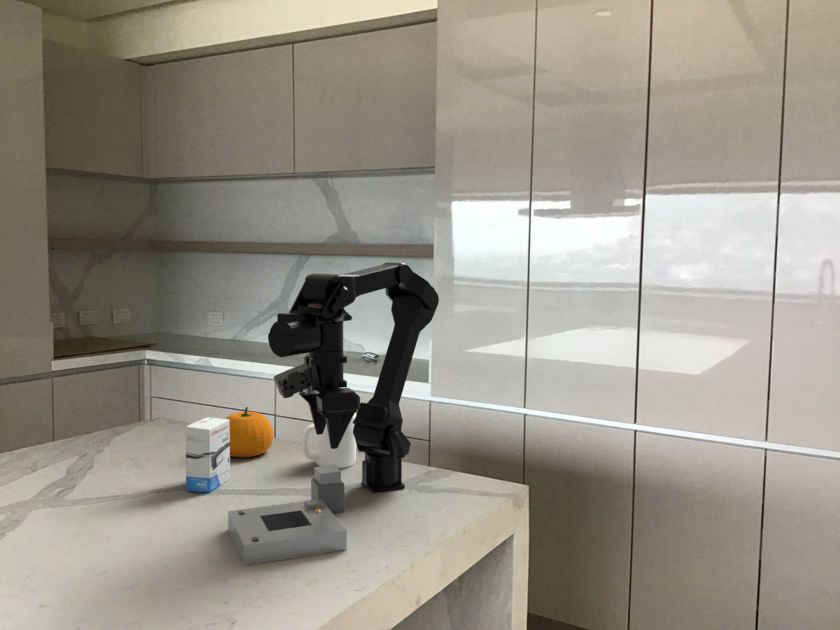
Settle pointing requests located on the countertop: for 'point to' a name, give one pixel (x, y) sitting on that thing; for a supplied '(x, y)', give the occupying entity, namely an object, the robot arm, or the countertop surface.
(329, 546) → the faceplate
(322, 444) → the cup
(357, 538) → the countertop surface
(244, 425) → the fruit
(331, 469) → the plug
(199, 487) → the ink box
